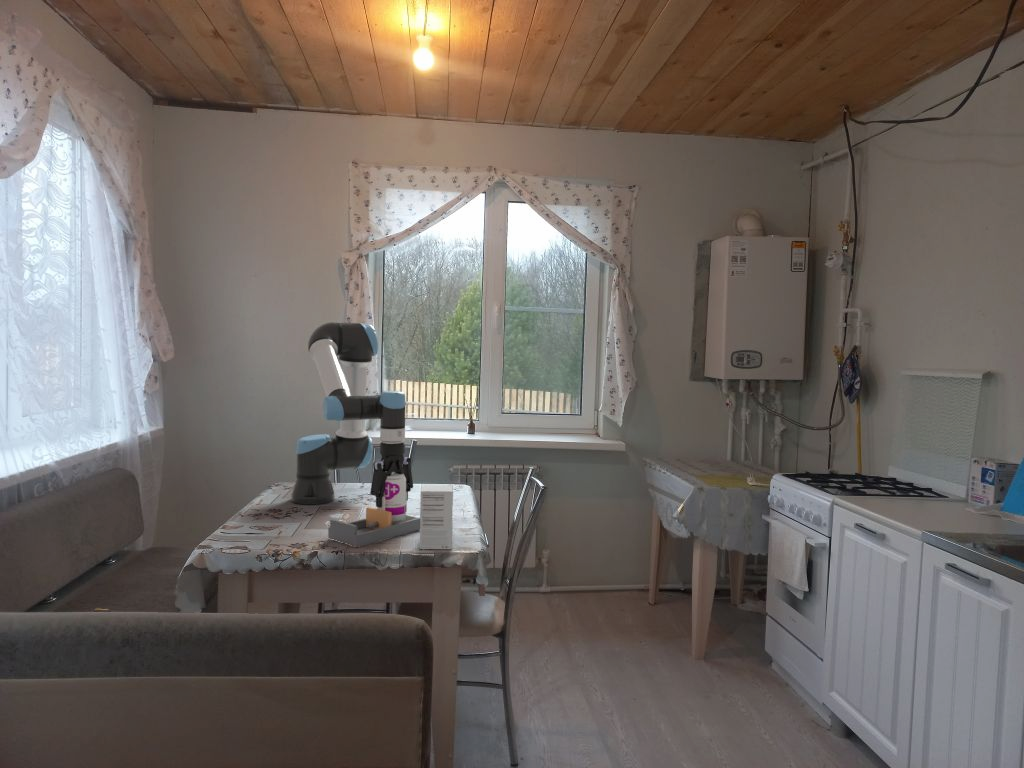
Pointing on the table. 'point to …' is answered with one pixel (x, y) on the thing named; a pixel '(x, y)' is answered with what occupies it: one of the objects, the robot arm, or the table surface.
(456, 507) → the table surface
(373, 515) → the pusher
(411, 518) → the pusher lane
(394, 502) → the supplement can
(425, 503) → the supplement box
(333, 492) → the robot arm
